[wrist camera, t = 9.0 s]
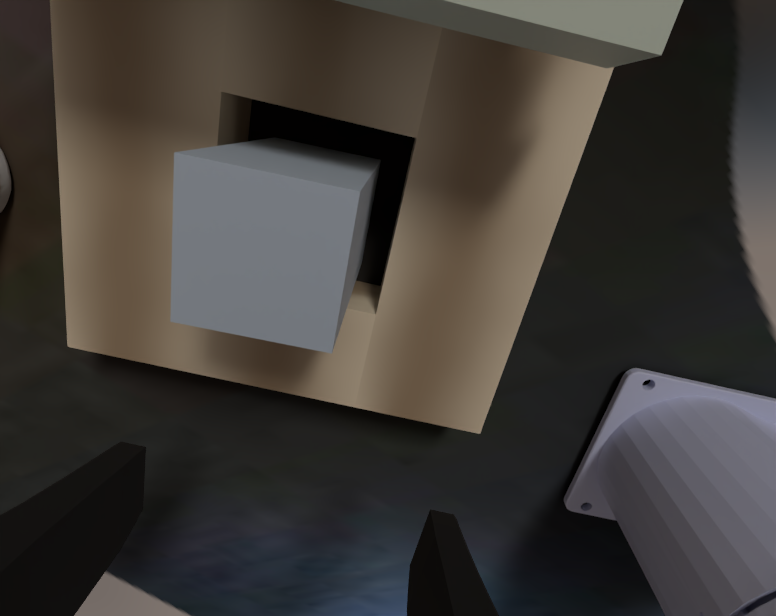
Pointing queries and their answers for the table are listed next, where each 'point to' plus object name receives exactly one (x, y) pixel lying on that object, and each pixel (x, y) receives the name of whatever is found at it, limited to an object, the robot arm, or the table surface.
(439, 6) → the wide sage green panel
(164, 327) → the socket plate
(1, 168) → the pill bottle
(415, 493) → the table surface
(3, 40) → the table surface
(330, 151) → the peg
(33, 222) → the table surface
